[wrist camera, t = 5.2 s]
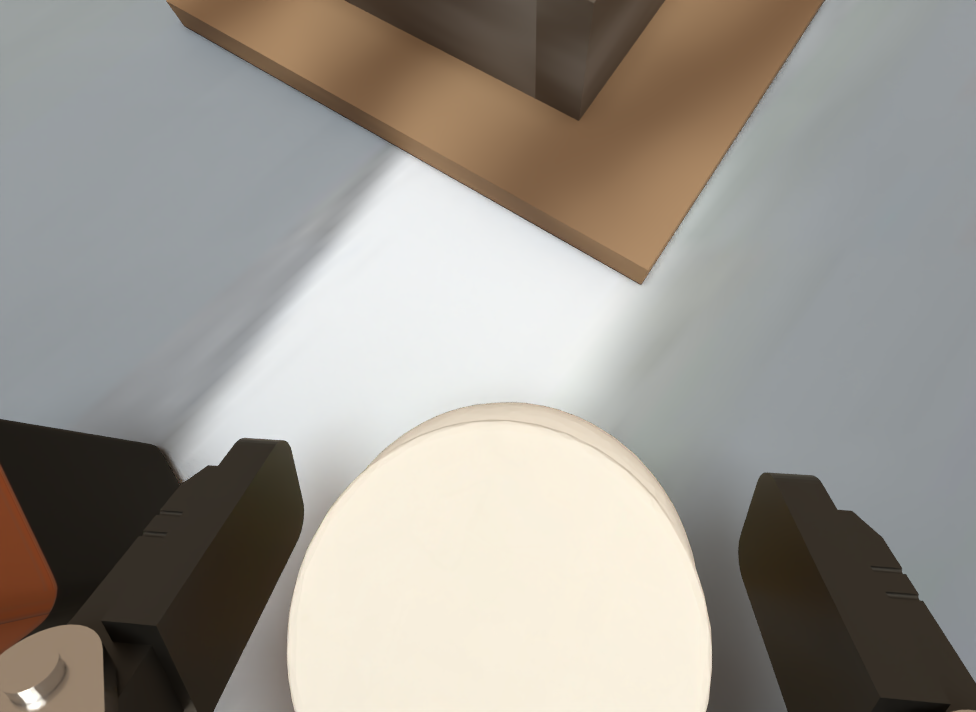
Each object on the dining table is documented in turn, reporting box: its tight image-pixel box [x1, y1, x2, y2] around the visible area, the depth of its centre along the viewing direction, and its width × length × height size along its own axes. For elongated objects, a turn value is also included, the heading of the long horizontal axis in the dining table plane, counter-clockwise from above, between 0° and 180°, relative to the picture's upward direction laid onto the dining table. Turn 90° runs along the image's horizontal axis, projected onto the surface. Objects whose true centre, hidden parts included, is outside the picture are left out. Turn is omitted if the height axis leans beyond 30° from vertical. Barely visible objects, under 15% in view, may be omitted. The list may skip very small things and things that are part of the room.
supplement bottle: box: [287, 402, 712, 712], centre depth 10 cm, size 5×5×10 cm
